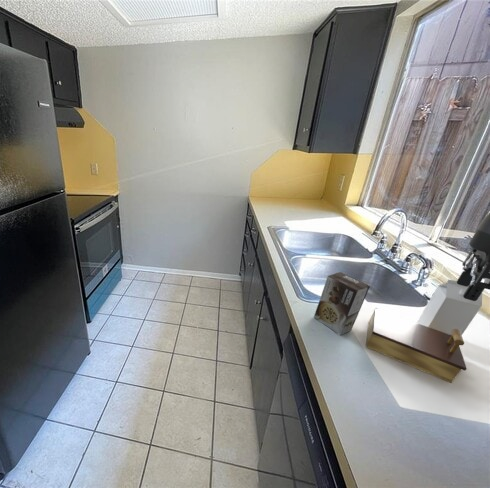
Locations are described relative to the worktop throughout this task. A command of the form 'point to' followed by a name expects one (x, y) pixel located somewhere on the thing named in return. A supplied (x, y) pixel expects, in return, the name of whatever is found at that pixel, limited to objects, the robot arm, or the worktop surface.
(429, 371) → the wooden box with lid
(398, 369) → the worktop surface
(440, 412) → the worktop surface
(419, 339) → the cover
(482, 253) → the robot arm
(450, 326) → the milk carton
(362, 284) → the coffee box
